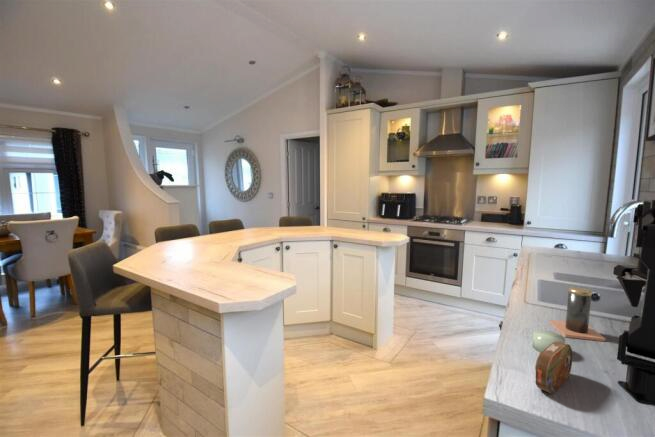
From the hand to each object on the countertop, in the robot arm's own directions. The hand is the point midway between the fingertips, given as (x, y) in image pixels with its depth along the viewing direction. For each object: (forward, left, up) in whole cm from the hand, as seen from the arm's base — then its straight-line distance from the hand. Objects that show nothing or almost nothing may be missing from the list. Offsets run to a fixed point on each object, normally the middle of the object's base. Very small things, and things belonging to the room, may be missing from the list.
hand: (647, 313), depth 77 cm
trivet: (+16, +7, -13) cm, 22 cm away
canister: (+16, +7, -12) cm, 21 cm away
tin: (-14, +25, -13) cm, 32 cm away
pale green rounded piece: (+2, +20, -13) cm, 24 cm away
